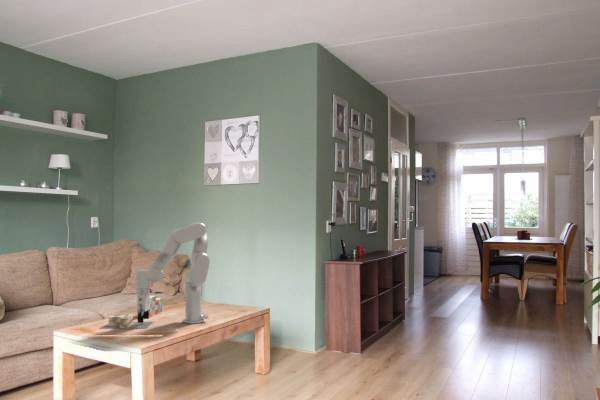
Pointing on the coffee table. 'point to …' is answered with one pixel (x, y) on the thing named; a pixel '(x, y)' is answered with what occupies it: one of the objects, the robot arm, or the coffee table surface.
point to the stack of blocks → (155, 306)
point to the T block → (121, 320)
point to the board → (130, 326)
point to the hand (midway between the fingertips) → (143, 320)
